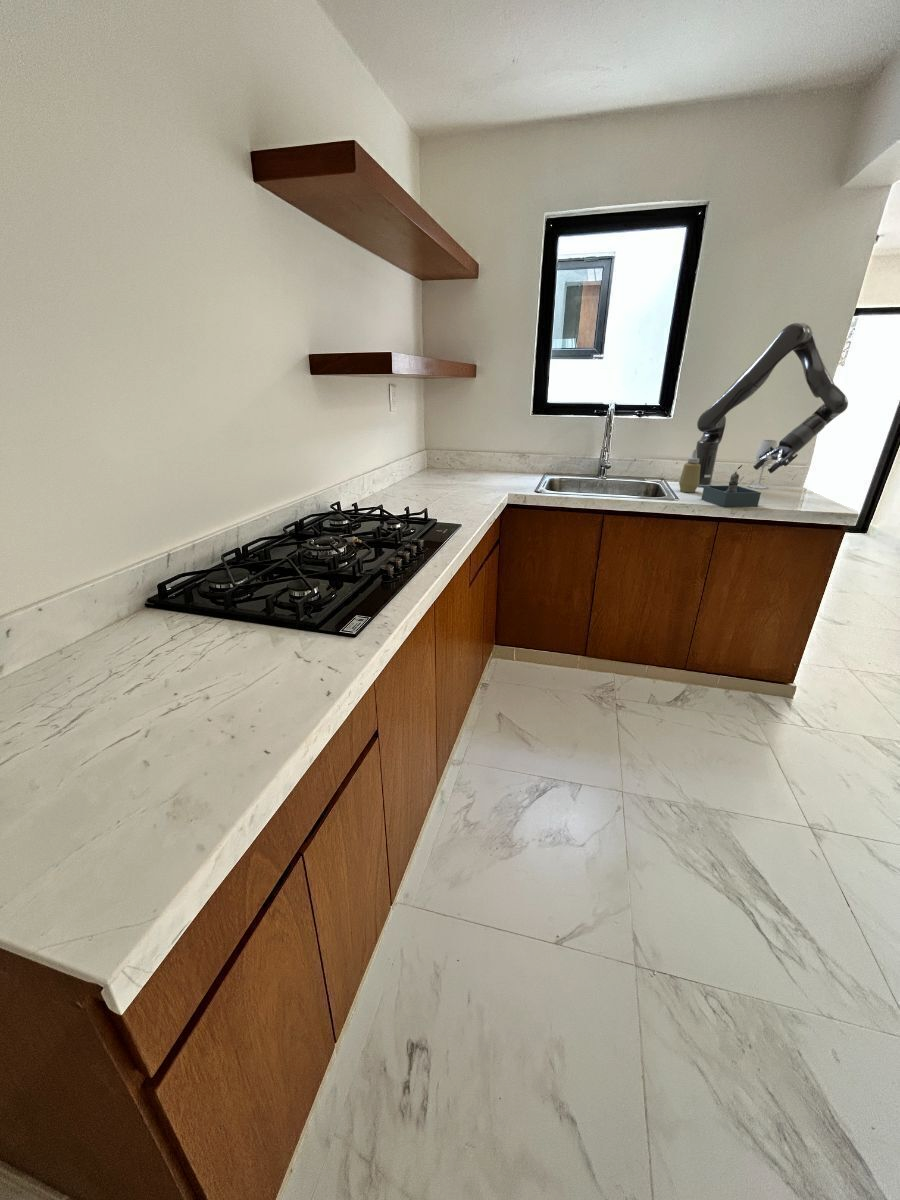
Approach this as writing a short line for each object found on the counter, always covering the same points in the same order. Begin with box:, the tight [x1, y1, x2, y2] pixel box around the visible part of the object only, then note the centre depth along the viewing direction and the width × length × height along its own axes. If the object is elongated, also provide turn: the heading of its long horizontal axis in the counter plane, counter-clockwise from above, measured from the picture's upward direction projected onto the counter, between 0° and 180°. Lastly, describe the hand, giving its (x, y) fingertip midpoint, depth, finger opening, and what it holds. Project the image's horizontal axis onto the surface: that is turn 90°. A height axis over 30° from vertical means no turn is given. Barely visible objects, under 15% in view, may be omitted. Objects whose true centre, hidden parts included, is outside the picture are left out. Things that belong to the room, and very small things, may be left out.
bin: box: [701, 485, 762, 508], centre depth 200 cm, size 15×14×6 cm
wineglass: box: [749, 439, 778, 490], centre depth 230 cm, size 8×8×21 cm
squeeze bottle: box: [678, 449, 701, 494], centre depth 219 cm, size 8×8×18 cm
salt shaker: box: [724, 471, 740, 493], centre depth 198 cm, size 6×6×12 cm
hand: (761, 469), depth 198 cm, fingers open, 8 cm apart
